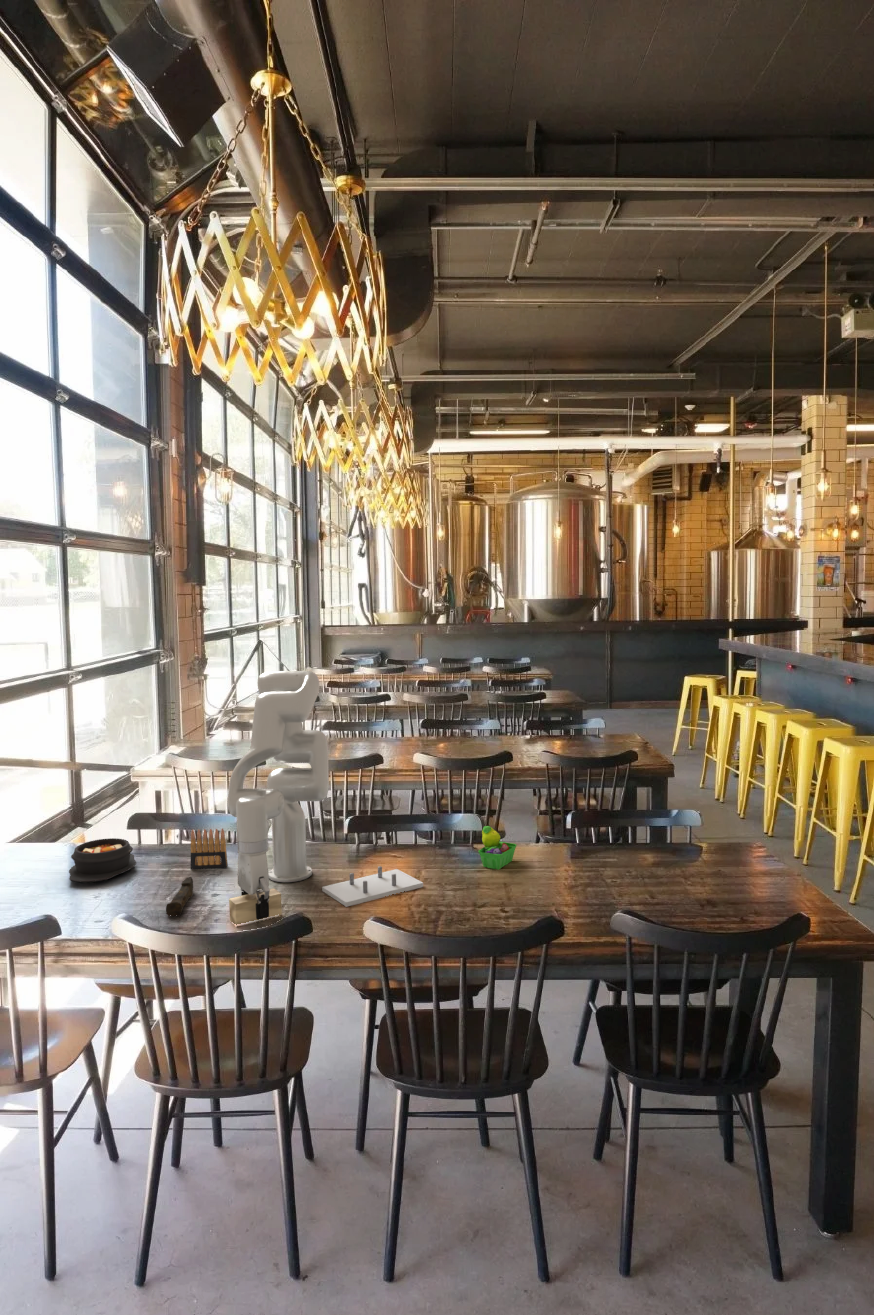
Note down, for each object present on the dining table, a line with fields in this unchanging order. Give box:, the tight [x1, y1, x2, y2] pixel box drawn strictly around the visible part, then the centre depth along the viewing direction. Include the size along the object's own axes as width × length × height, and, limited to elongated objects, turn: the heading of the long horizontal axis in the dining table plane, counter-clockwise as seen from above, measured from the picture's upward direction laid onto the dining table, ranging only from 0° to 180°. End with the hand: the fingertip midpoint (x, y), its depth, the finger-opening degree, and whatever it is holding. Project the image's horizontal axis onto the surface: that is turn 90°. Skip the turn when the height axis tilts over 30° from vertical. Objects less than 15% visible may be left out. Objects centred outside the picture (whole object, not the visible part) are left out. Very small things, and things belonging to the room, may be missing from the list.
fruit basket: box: [477, 825, 518, 870], centre depth 243 cm, size 11×9×11 cm
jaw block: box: [228, 888, 283, 925], centre depth 205 cm, size 4×12×6 cm, turn 124°
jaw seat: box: [321, 865, 424, 908], centre depth 224 cm, size 14×24×4 cm, turn 124°
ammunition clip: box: [190, 828, 228, 871], centre depth 244 cm, size 11×2×12 cm, turn 93°
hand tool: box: [165, 876, 194, 917], centre depth 217 cm, size 19×4×5 cm, turn 1°
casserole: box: [68, 838, 137, 883], centre depth 241 cm, size 25×19×8 cm
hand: (255, 911), depth 205 cm, fingers open, 9 cm apart
